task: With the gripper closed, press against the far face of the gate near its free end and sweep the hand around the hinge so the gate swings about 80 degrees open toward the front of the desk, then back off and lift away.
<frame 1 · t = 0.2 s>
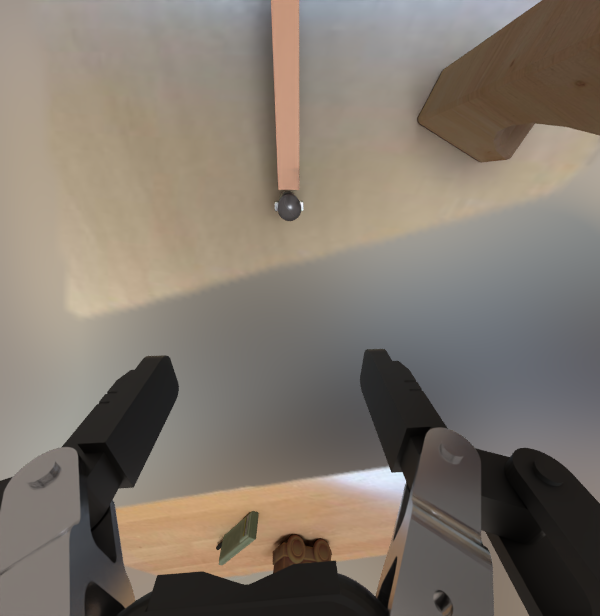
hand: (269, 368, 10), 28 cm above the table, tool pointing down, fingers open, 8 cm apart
handheld radio: (236, 526, 78), on the table
gate: (286, 94, 23), point 6 cm above the table, hinge at 0.0°
decorative block: (462, 119, 30), on the table
gate frame: (283, 19, 25), on the table
wooden toy train: (300, 540, 85), on the table
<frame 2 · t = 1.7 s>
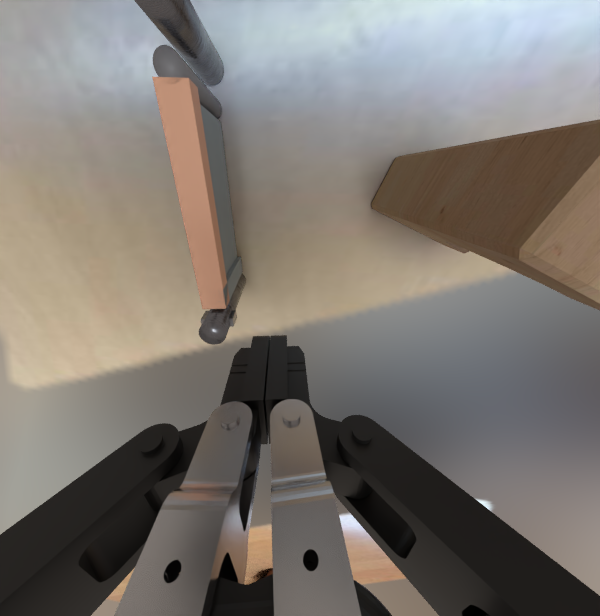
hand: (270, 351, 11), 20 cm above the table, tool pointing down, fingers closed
gate: (212, 201, 21), point 6 cm above the table, hinge at 0.0°
decorative block: (420, 203, 28), on the table
gate frame: (215, 110, 22), on the table
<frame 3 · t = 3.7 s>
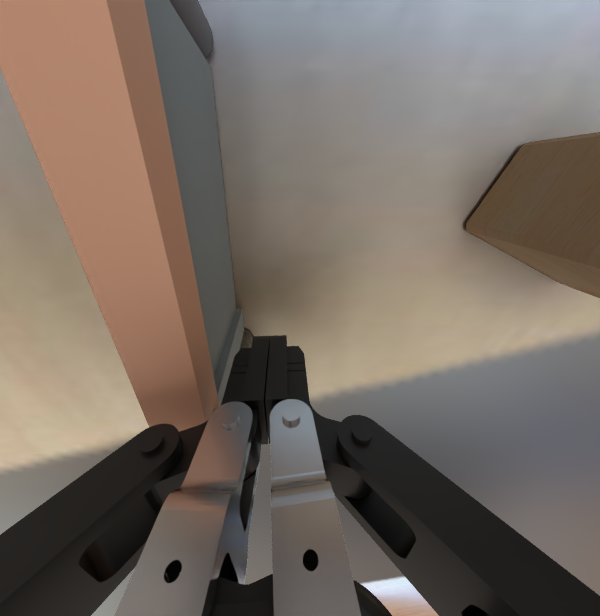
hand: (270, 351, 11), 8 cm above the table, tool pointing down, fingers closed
gate: (189, 228, 10), point 6 cm above the table, hinge at -1.4°, touching gripper
decorative block: (540, 221, 17), on the table
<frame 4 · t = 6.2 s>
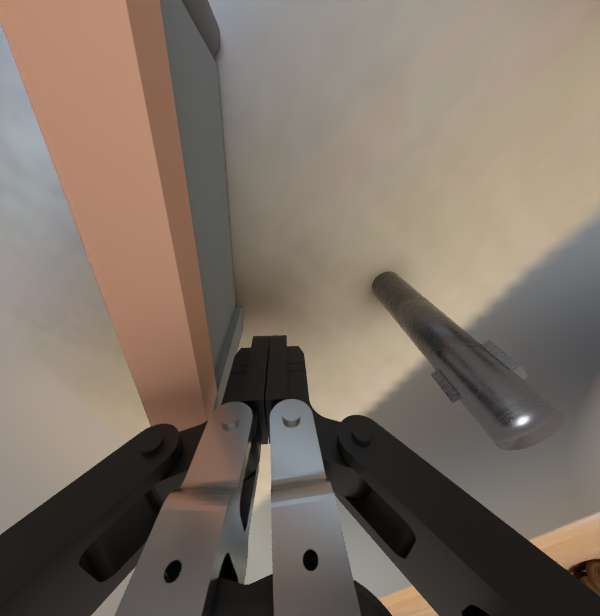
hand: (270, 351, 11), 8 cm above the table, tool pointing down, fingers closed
gate: (193, 226, 10), point 6 cm above the table, hinge at -44.4°, touching gripper
gate frame: (207, 44, 11), on the table
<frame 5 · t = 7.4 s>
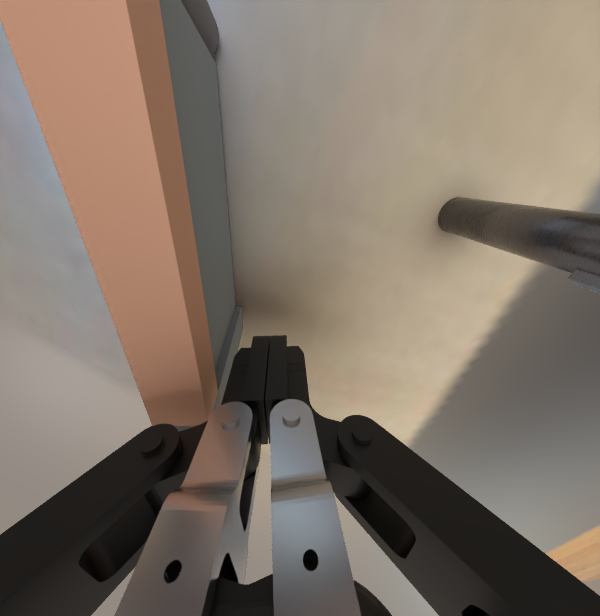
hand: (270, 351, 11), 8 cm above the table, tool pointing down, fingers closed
gate: (193, 225, 10), point 6 cm above the table, hinge at -65.8°, touching gripper
gate frame: (205, 43, 11), on the table
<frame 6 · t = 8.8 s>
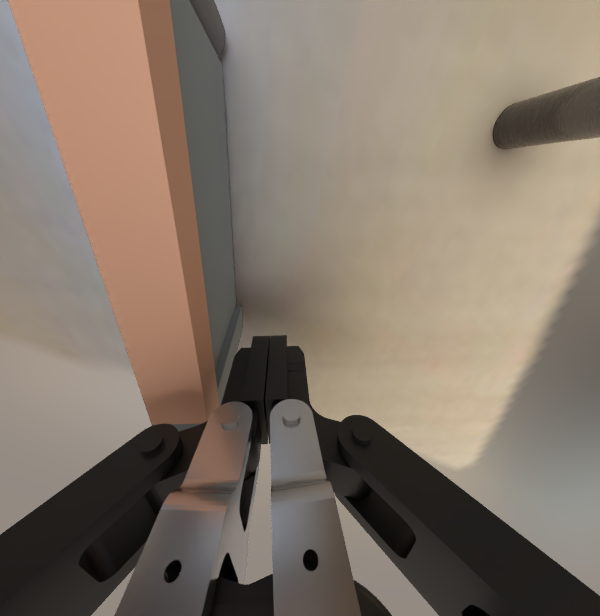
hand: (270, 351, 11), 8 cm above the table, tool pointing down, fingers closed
gate: (196, 224, 10), point 6 cm above the table, hinge at -84.3°, touching gripper
gate frame: (212, 44, 11), on the table
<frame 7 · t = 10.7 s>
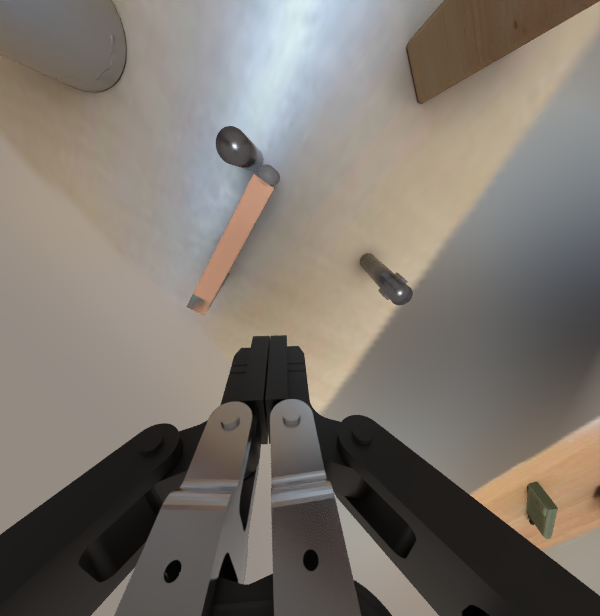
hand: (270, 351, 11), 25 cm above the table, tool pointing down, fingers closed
handheld radio: (529, 500, 74), on the table
gate: (237, 238, 27), point 6 cm above the table, hinge at -84.3°
decorative block: (461, 45, 25), on the table
gate frame: (273, 177, 29), on the table
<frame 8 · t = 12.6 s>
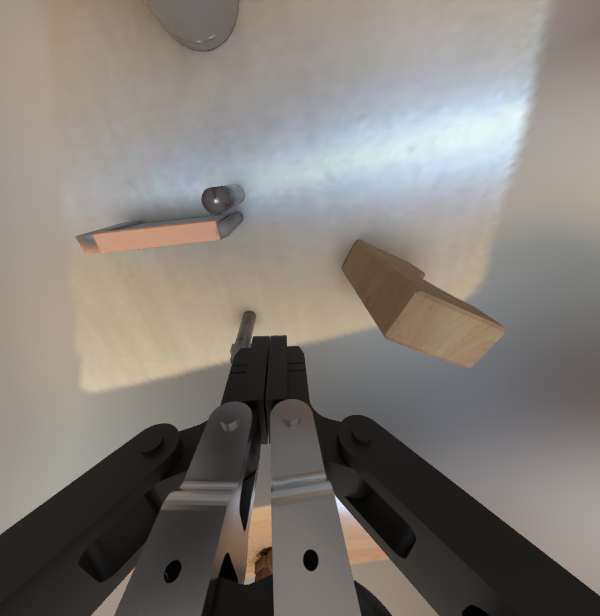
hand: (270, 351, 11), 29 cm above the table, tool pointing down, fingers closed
gate: (172, 229, 30), point 6 cm above the table, hinge at -84.3°
decorative block: (376, 266, 40), on the table
gate frame: (238, 216, 35), on the table
wooden toy train: (280, 552, 97), on the table
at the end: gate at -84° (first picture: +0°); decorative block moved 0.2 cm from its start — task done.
